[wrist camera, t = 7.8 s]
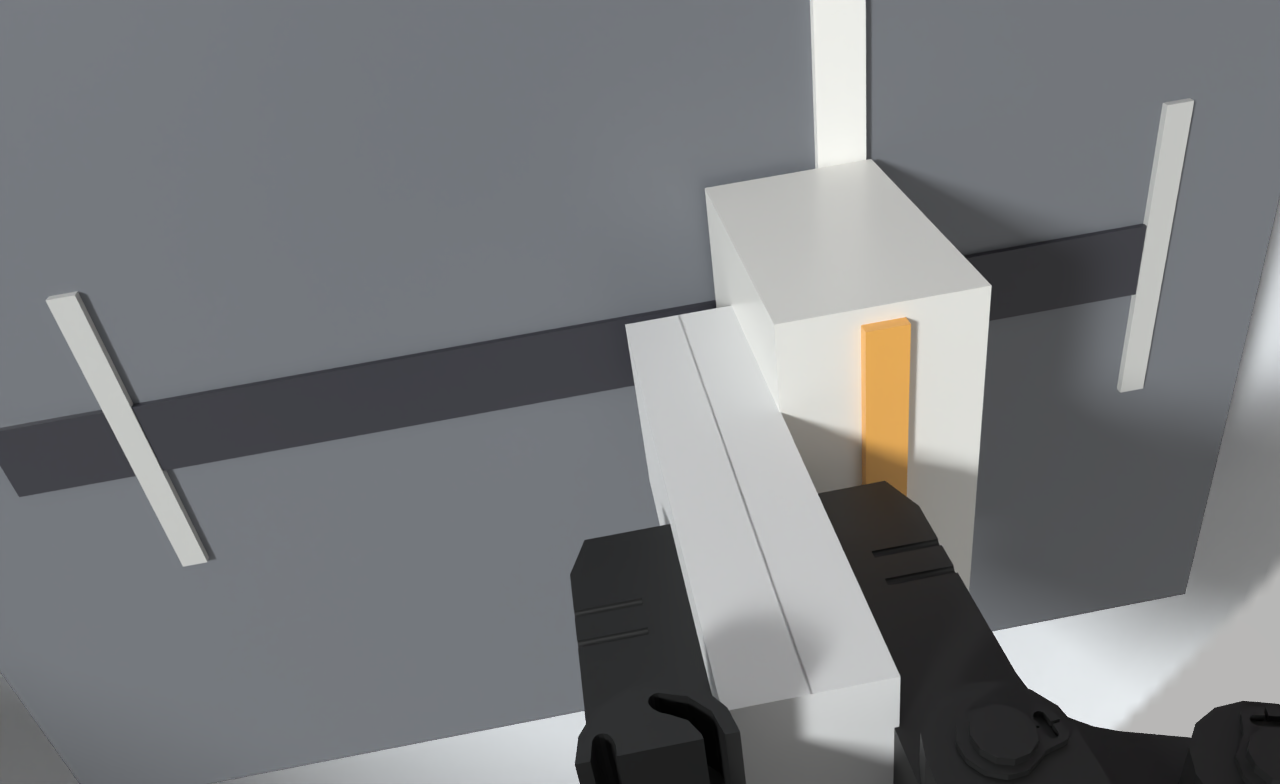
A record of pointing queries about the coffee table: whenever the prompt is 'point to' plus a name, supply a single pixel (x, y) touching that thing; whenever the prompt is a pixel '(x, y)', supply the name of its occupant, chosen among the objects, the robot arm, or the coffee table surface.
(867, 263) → the fader cap
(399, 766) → the coffee table surface
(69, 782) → the coffee table surface
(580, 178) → the console
